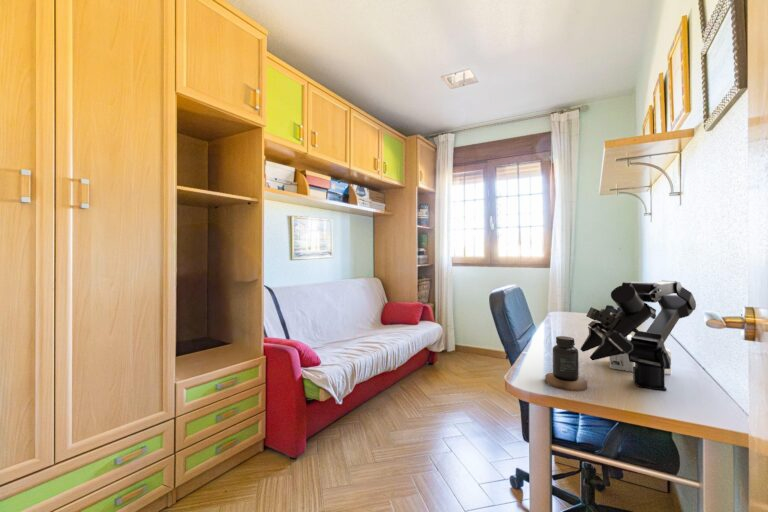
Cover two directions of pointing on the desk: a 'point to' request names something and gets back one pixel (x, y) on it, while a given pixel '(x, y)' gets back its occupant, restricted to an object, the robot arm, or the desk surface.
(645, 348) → the robot arm
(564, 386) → the walnut coaster
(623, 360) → the light bulb box
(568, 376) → the supplement bottle
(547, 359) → the desk surface
